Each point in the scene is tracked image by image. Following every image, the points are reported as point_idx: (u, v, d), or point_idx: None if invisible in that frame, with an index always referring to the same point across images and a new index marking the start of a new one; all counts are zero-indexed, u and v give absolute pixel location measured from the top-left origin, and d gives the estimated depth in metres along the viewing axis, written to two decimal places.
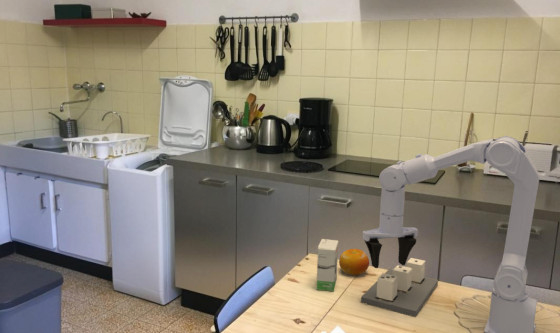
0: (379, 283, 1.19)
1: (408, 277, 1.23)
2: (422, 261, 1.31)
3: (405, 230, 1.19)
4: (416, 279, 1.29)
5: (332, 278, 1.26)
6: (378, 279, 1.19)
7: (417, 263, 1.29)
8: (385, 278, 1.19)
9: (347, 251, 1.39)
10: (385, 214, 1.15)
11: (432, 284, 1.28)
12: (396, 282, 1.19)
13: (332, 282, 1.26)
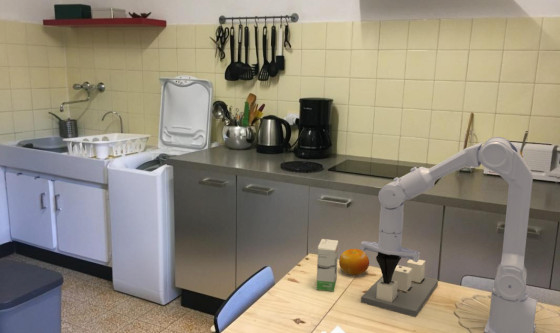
0: (379, 288, 1.19)
1: (408, 277, 1.23)
2: (422, 261, 1.31)
3: (405, 251, 1.16)
4: (416, 279, 1.29)
5: (332, 278, 1.26)
6: (378, 284, 1.19)
7: (417, 263, 1.29)
8: (385, 283, 1.19)
9: (347, 251, 1.39)
10: (384, 232, 1.15)
11: (432, 284, 1.28)
12: (396, 287, 1.20)
13: (332, 282, 1.26)
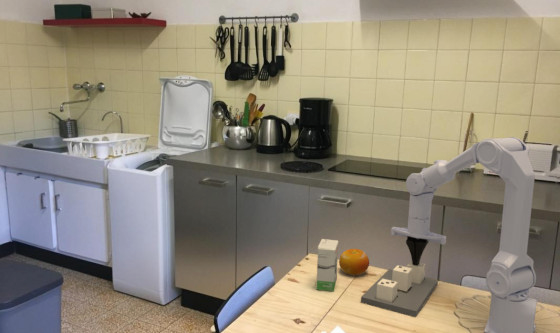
0: (379, 289, 1.19)
1: (408, 277, 1.23)
2: (422, 264, 1.31)
3: (433, 235, 1.27)
4: (416, 282, 1.29)
5: (332, 278, 1.26)
6: (378, 285, 1.19)
7: (417, 266, 1.29)
8: (385, 283, 1.19)
9: (347, 251, 1.39)
10: (410, 216, 1.28)
11: (432, 284, 1.28)
12: (396, 288, 1.20)
13: (332, 282, 1.26)
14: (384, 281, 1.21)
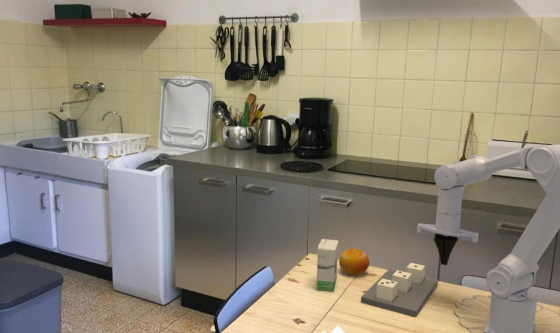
0: (379, 289, 1.19)
1: (408, 282, 1.24)
2: (422, 266, 1.31)
3: (463, 233, 1.17)
4: None
5: (332, 278, 1.26)
6: (378, 285, 1.19)
7: (417, 268, 1.29)
8: (385, 283, 1.19)
9: (347, 251, 1.39)
10: (439, 211, 1.18)
11: (432, 284, 1.28)
12: (396, 288, 1.20)
13: (332, 282, 1.26)
14: (384, 281, 1.21)
